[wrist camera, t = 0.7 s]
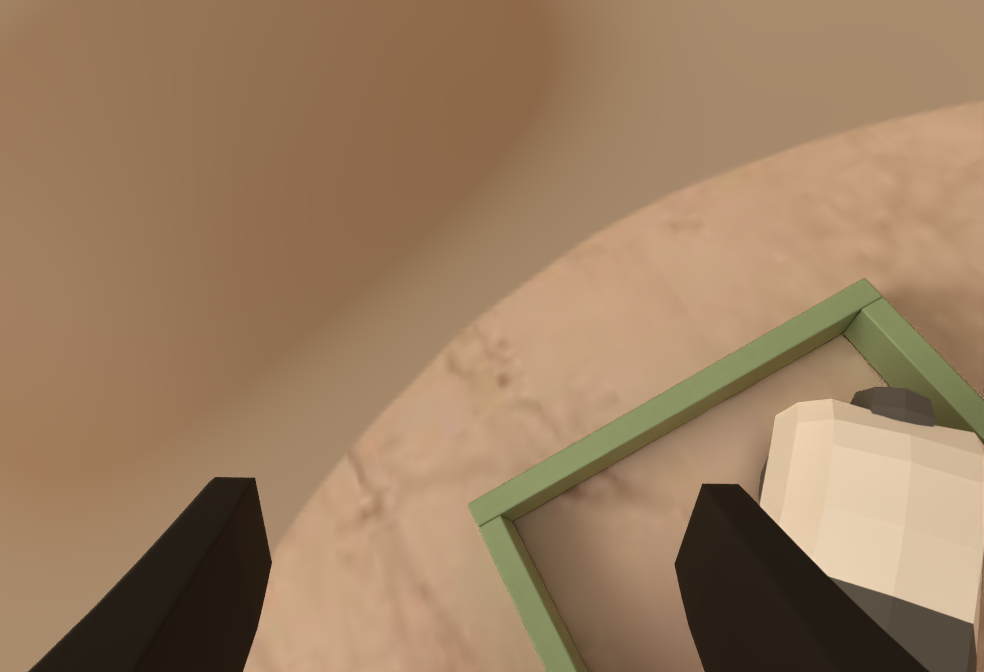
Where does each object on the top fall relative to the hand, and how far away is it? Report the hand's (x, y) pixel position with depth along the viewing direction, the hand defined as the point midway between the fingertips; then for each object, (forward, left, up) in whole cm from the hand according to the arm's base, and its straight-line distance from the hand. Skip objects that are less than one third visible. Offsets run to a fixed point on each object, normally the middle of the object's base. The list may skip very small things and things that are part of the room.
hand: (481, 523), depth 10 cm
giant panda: (-5, -6, -16) cm, 18 cm away
